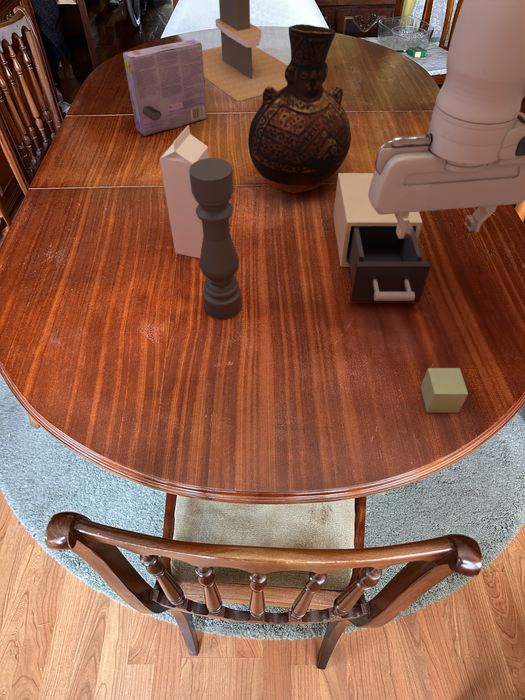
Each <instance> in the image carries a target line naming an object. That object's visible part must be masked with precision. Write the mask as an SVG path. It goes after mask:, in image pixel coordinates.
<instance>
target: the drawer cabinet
mask: <svg viewBox="0 0 525 700" xmlns="http://www.w3.org/2000/svg"><path fill="white" fill-rule="evenodd" d="M373 174H374V172H338V173H337V179H336V180H337V181H336V190H335V199H334V205H333V206H334V207H333V214H332V216H333V217H332V218H333V225H334V231H335V238H336V245H337V252H338V257H339V259H338V260H339V265H340V268H350V267H349V261H348V255H347V250H348V244H349V237H350V231H351V226H397V224H398V221H397V219H396V217H395V214H384V215H380V214H378V213H377V212H376V211H375V209H374V208H373V206H372V205H371V203H370V200H369V197H368V193H369V188H370V184H371V181H372V177H373ZM403 219H404V221H405V220H409V222H410V225H412V226H413V228H414V231H415V235H416V238H417V241H418V242H419V236H420V233H421V230H422V226H423V220H422V217H421V214H420V212H409V216H408V218H403Z"/></svg>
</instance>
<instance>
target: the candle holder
mask: <svg viewBox="0 0 525 700" xmlns="http://www.w3.org/2000/svg"><path fill="white" fill-rule="evenodd" d="M233 170H234V169H233V165H232V164H231V163H230V162H229V161H228V160H226V159H223V158H218V157H209V158H207V159H201V160H199V161H197V162H194V163H193V164H192V165H191V166H190V169H189V175H190V183H191V191H192V194H193V196H194V198H195V199H196V201H197V202H198V204H199V205H198V206H197V207H196V214H197V216H198V218H199V219H200V220H202V227H203V242H202V249H201V255H200V258H199V261H198V265H199V266H198V267H199V269H200V270H201V273H202V275H203V276H204V277H205V278H206V279H205V281H204V282H203V290H202V298H203V306H204V310H205V313H206V315H208V317H210V318H212V319H214V320H215V319H216V320H229V319H232V318H234V317H236V316H237V315H239V313H240V312H241V310H242V292H241V288H240V286H239V285H240V283H239V281H238V279H237V277H236V276H235V275H236V273H237V272H238V270H239V267H240V266H239V265H240V258H239V256H238V253H237V250H236V247H235V245H234V242H233V239H232V236H231V232H230V218H231V217H232V216H233V213H234V212H233V211H234V207H233V205H232V203H230V200H231V199H232V196H233V194H234V171H233Z"/></svg>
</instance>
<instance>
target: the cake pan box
mask: <svg viewBox="0 0 525 700" xmlns="http://www.w3.org/2000/svg"><path fill="white" fill-rule="evenodd" d="M202 50H203V44H202V42H200V41H198V40H196V39H193V38H192V39H187V40H181V41H177V42H172V43H167V44H166V43H165V44H162V45H156V46H155V45H154V46H151V47H145V48H141V49H136V50H131V51H125V52H123V53H122V57H123V62H124V68H125V73H126V79H127V84H128V85H127V86H128V90H129V96H130V102H131V107H132V111H133V117H134V123H135V128H136V130H137V131H138V132H139V133H140V134H141V135H142V136H143V137H147V136H150V135H154V134H156V133H161V132H165V131H168V130H169V131H170V130H174V129H178V128H180V127H183V126H186V125H189V124H192V123H196V122H199V121H204V120H207V119H208V106H207V98H206V81H205V79H206V78H205V77H204V71H203V55H202Z"/></svg>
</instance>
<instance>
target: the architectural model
mask: <svg viewBox="0 0 525 700" xmlns="http://www.w3.org/2000/svg"><path fill="white" fill-rule="evenodd" d="M218 3H219V4H218V7H219V9H218V10H219V18H216V19H215V27H216V28H217V29H218V30H220V40H221V45H220V46H217V47H212V48H211V47H210V48H208V49H202V55H203V71H204V79H206V80H207V81H209V82H211V83H212V84H213V85H215V86H216V87H217V88H219V89H220V90H221V91H223V92H224V93H225V94H227V95H228V96H229V97H231V98H232V99H234V100H235V101H236V102H240V101H241V102H242V101H244V100H245V101H246V100H248V99H252V98H256V97H259V96H263V92H264V89H265V88H266V87H267V86H271V87H273V88H274V89H275V90H277V91H280V90H281V89H282V88H284V87H286V86H287V81H286V79H285V70H286V68H287V66H288V65H289V64H286V63H285V62H283V61H281V60H280V59H278V58H277V57H274V56H273V55H270V54H269V53H268V52H266V51H265V50H262V49H261V48H259V47H258V46H260V42H261V38H262V29H260V28H259V27H258V26H256V25H253V24H252V23H251V2H250V0H218Z"/></svg>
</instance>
